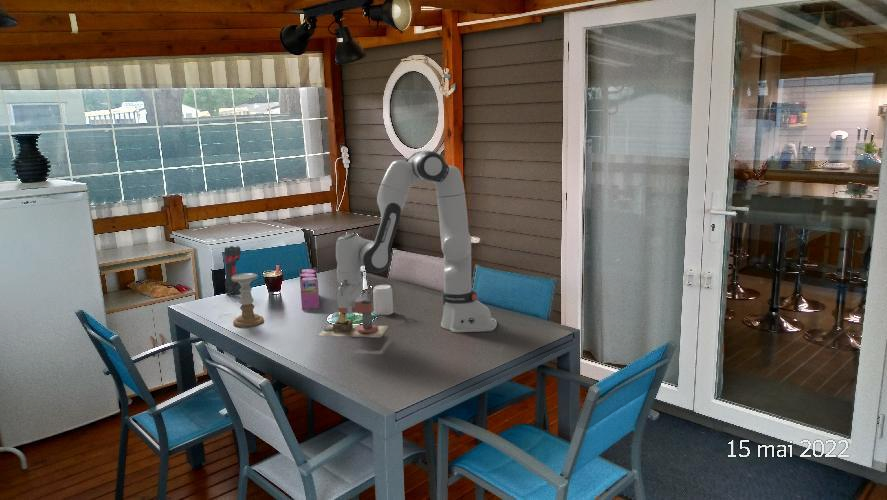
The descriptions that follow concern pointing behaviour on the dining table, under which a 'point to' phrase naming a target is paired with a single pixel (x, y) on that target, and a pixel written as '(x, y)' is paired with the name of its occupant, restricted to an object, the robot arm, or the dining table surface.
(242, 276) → the candle holder
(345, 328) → the brown box
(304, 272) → the gum box
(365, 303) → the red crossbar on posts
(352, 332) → the board
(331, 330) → the slate pad
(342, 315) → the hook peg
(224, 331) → the dining table surface
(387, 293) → the white tapered cylinder
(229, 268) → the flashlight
